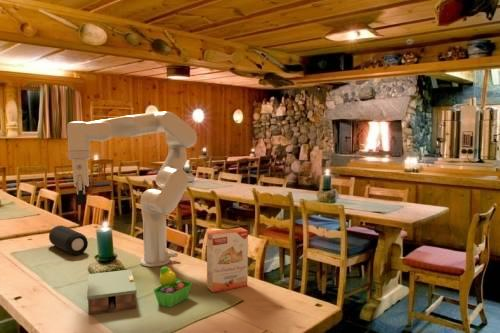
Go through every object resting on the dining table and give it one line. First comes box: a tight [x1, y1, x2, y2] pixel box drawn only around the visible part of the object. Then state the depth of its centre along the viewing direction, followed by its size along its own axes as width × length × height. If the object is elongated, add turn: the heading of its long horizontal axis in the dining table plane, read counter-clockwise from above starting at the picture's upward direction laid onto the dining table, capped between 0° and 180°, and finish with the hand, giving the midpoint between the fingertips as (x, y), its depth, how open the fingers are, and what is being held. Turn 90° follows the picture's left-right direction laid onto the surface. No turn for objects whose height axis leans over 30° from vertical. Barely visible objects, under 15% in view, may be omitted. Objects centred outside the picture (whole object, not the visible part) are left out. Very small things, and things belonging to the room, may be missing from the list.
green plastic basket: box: [153, 266, 193, 308], centre depth 140 cm, size 11×9×11 cm
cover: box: [86, 269, 137, 301], centre depth 141 cm, size 15×21×2 cm
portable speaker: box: [48, 225, 89, 256], centre depth 198 cm, size 26×10×10 cm, turn 44°
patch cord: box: [109, 296, 115, 310], centre depth 140 cm, size 1×20×1 cm, turn 20°
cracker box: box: [206, 227, 249, 293], centre depth 151 cm, size 14×6×21 cm, turn 117°
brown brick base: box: [87, 292, 137, 316], centre depth 141 cm, size 14×20×5 cm
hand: (81, 204), depth 156 cm, fingers closed
